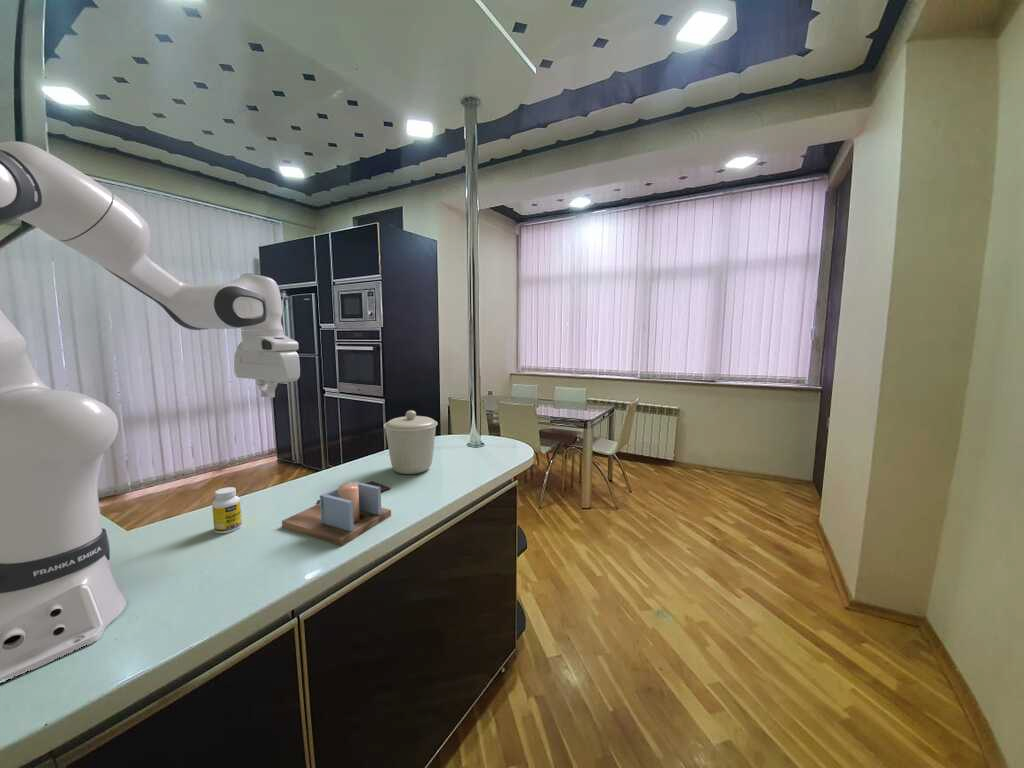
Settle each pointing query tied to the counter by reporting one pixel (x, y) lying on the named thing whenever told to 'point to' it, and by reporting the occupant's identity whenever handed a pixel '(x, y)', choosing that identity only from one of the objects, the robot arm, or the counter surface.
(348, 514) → the housing
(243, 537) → the counter surface
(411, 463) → the canister
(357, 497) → the peg
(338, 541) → the socket board
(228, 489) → the supplement bottle
